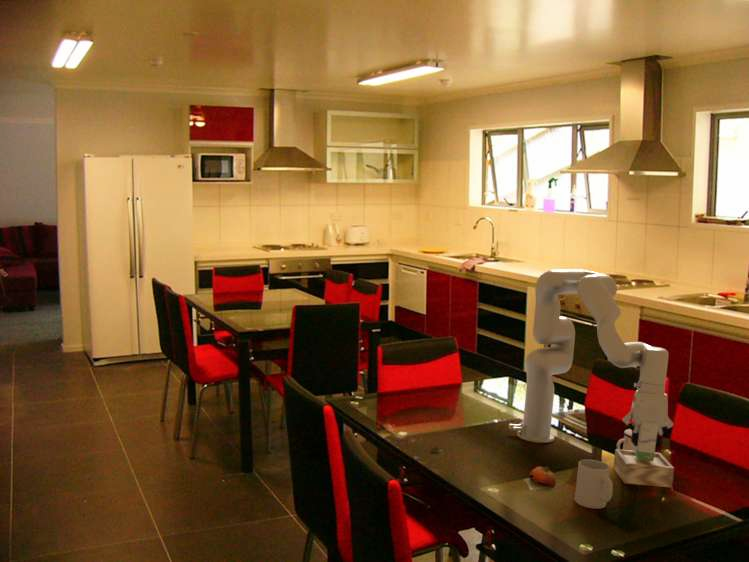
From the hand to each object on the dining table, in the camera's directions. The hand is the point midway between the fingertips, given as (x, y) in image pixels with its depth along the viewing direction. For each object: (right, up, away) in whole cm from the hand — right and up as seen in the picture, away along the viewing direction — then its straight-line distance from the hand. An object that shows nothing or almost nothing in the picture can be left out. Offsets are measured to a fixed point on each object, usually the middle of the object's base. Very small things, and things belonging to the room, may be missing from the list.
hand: (645, 445), depth 246 cm
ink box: (0, -4, +1) cm, 4 cm away
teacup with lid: (+1, -9, +17) cm, 19 cm away
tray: (-1, -10, +1) cm, 10 cm away
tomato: (-34, -9, -10) cm, 36 cm away
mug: (-22, -12, -25) cm, 35 cm away
